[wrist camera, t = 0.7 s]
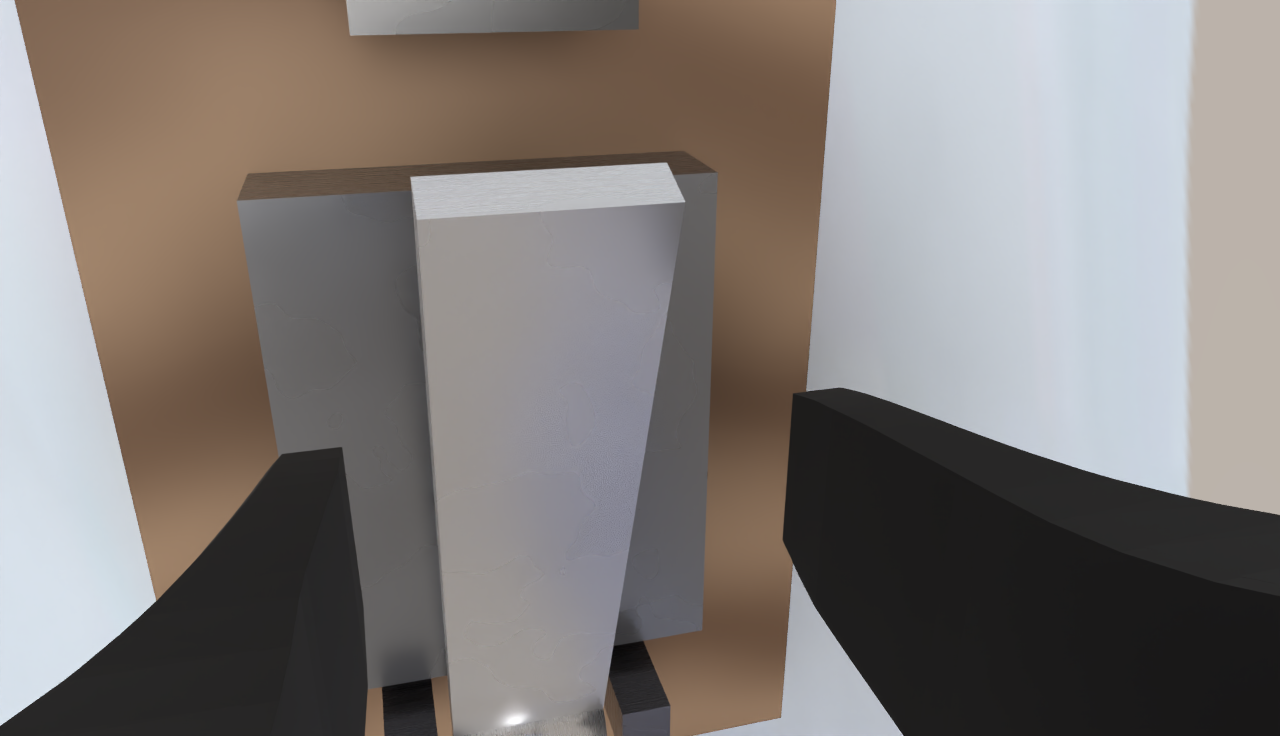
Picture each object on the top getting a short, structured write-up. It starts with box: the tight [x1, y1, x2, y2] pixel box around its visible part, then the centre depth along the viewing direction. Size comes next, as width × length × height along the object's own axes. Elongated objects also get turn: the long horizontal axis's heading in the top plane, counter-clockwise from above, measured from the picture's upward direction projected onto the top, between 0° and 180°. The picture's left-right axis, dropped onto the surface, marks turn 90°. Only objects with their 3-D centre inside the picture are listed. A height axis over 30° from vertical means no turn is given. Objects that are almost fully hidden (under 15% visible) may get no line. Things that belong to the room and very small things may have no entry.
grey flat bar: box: [410, 163, 685, 736], centre depth 16 cm, size 14×3×1 cm, turn 179°
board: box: [15, 0, 836, 736], centre depth 21 cm, size 20×14×2 cm
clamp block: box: [237, 0, 718, 736], centre depth 18 cm, size 16×8×4 cm, turn 179°
